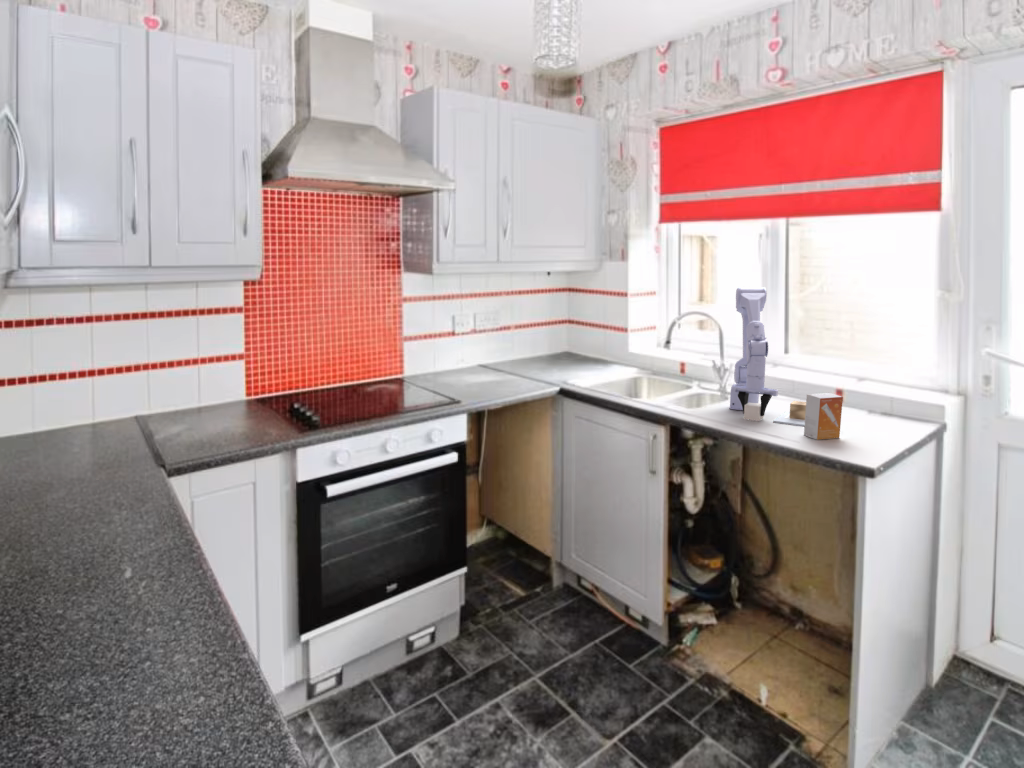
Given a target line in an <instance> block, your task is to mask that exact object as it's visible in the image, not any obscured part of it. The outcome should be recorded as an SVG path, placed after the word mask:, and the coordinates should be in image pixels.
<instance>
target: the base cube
mask: <svg viewBox="0 0 1024 768" xmlns="http://www.w3.org/2000/svg"><path fill="white" fill-rule="evenodd" d="M789 405H790V406H789V412H790V417H789V418H793V419H802V420H805V413H806V401H801V400H800V401H799V400H793V401H792V402H791V403H790V404H789Z"/></svg>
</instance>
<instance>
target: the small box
mask: <svg viewBox="0 0 1024 768" xmlns="http://www.w3.org/2000/svg"><path fill="white" fill-rule="evenodd" d="M843 400H844V397H843V395H842V396H841V395H838V394H835V393H831V392H825V393H823V392H822V393H820V392H819V393H811V394H806V401H805V402H806V413H805V426H803V427H804V429H803V430H804V431H803V436H806V437H808V438H811V439H814V440H817V441H819V440H826V439H827V440H829V439H832V440H833V439H840V434H841V433H840V432H841V425H842V424H841V423H842V410H843V402H844V401H843Z"/></svg>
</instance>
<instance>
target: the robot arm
mask: <svg viewBox="0 0 1024 768" xmlns="http://www.w3.org/2000/svg"><path fill="white" fill-rule="evenodd" d="M767 294H768V293H767V288H766V287H765V286H762V287H761V286H758V287H757V286H756V287H755V286H754V287H753V286H752V287H750V286H749V287H745V286H743V287H740V286H738V287H737V288H736V292H735V309H736V312H738V313H739V314H741V318H742V357H741V358H740V359H739V360H737V361H736V362H735V365H734V373H733V374H734V375H733V380H734V383H733V384H732V385H731V388H730V392H729V393H730V395H729V398H730V399H729V408H728V409H730V410H737V411H743V412H742V413H743V415H744V407H745V405H746V404H747V403H749V402H750V403H759V399H760V404H761V412H760V416H763V417H764V416H765V413H766V410H767V407H768V405H769V403H770V401H771V399H772V397H777V396H778V394H779V389H775V388H773V389H772V388H768V387H765V378H766V376H765V375H766V361H767V359H766V358H768V355H769V342H768V339H767V337H766V333H765V324H764V323H762V322H761V312H764V311H763V310H764V308H765V304H766V302H767ZM760 395H761V396H760ZM759 397H760V398H759Z"/></svg>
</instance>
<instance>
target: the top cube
mask: <svg viewBox="0 0 1024 768" xmlns="http://www.w3.org/2000/svg"><path fill="white" fill-rule="evenodd" d="M760 412H761V403H759V402H758V403H750V402H749V403H747V404H746V405H745V407H744V414H743V420H746V419H750V420H749V421H754V420H756V422H760V421H761V420H763V419H764V416H760Z"/></svg>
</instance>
